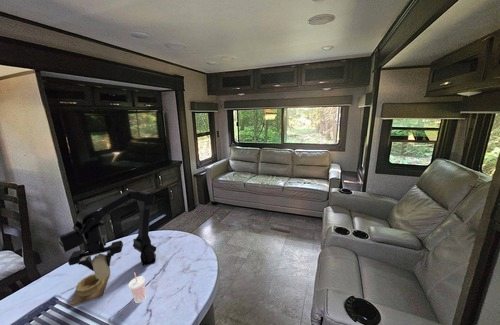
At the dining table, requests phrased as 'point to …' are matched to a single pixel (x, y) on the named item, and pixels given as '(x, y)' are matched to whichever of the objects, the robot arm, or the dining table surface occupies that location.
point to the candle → (100, 266)
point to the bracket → (89, 289)
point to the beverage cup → (138, 288)
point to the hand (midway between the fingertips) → (101, 267)
